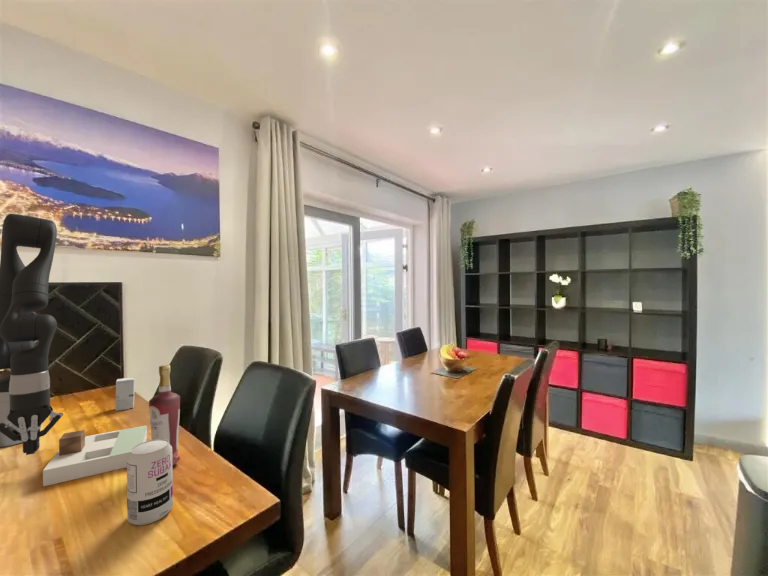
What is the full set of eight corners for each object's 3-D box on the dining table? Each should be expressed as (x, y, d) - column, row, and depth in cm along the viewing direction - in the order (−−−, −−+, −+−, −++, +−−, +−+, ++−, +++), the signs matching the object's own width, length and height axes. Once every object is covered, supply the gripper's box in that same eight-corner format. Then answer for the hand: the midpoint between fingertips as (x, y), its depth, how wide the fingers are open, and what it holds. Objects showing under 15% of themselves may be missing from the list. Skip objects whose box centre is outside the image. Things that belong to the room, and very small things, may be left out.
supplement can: (142, 503, 77) (142, 438, 77) (180, 501, 78) (179, 437, 78) (117, 528, 69) (117, 456, 69) (159, 526, 70) (159, 454, 70)
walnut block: (59, 456, 92) (59, 439, 92) (64, 449, 95) (63, 433, 95) (81, 451, 94) (80, 435, 94) (84, 445, 98) (84, 429, 98)
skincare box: (115, 411, 135) (114, 381, 135) (116, 408, 139) (116, 379, 139) (134, 408, 139) (133, 379, 139) (135, 405, 143) (134, 376, 143)
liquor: (186, 461, 96) (186, 364, 96) (162, 475, 89) (161, 370, 89) (168, 457, 98) (167, 362, 98) (143, 470, 91) (142, 368, 91)
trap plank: (43, 486, 84) (42, 470, 84) (66, 452, 101) (66, 439, 101) (140, 464, 95) (140, 450, 95) (146, 437, 112) (146, 425, 112)
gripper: (67, 381, 97) (68, 441, 97) (1, 389, 90) (2, 454, 90) (59, 388, 91) (60, 452, 91) (-13, 397, 84) (-12, 466, 84)
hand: (31, 453), depth 90 cm, fingers closed
